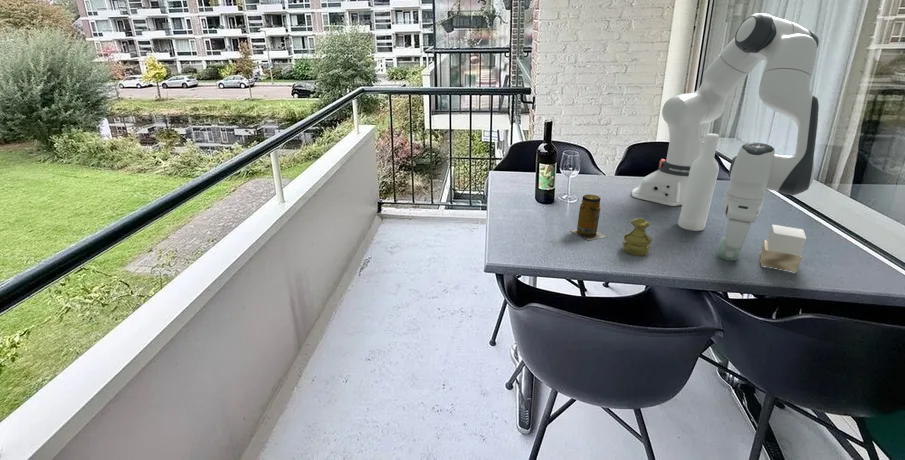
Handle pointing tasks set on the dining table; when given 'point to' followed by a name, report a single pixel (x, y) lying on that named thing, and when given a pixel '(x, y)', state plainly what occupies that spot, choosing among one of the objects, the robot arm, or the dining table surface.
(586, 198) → the condiment
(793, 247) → the tower top
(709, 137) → the bottle
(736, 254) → the pale green rounded block
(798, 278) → the dining table surface
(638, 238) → the yellow tiered cone
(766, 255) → the tower base
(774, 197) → the dining table surface
